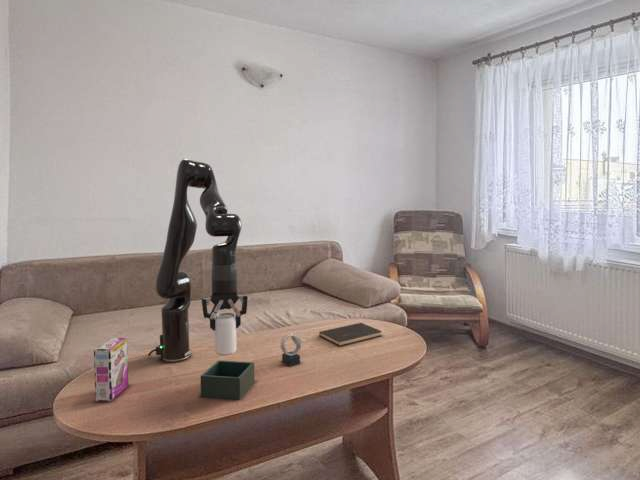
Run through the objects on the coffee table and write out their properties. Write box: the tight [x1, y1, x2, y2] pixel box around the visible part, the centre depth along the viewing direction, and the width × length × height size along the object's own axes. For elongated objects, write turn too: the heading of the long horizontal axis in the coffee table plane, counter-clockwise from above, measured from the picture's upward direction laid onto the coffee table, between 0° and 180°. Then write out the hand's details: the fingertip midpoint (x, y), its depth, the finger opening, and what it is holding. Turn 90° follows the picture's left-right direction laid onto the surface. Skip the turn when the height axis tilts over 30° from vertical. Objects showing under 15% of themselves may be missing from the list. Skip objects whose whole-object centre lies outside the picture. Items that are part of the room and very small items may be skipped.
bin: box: [200, 359, 255, 400], centre depth 142 cm, size 13×13×7 cm
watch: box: [280, 333, 303, 367], centre depth 164 cm, size 6×8×11 cm
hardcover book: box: [318, 322, 383, 347], centre depth 196 cm, size 16×23×2 cm
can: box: [214, 312, 237, 356], centre depth 140 cm, size 6×6×12 cm
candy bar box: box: [93, 337, 129, 402], centre depth 136 cm, size 11×5×16 cm, turn 5°
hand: (225, 328), depth 140 cm, fingers closed on can, 6 cm apart
